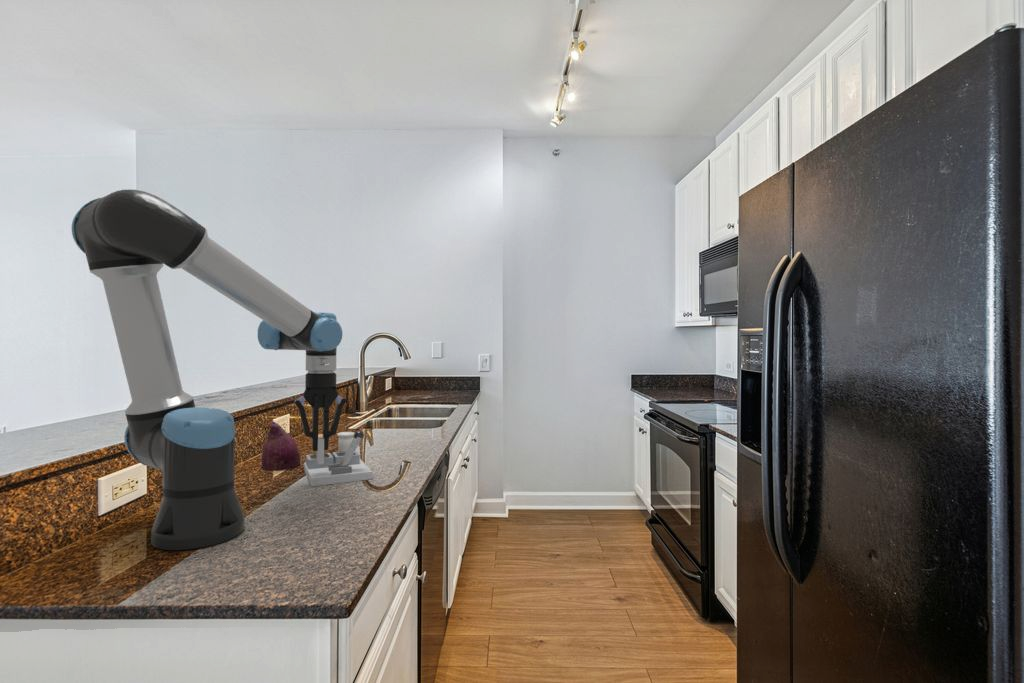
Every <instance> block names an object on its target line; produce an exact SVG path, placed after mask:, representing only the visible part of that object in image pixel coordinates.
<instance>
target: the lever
mask: <svg viewBox="0 0 1024 683" xmlns="http://www.w3.org/2000/svg"><path fill="white" fill-rule="evenodd" d="M364 438H365V433H364V432H363V431H362V430H357V431H355V432H354V436H353V440H352V442H351V444H350V446H349V448H348V450H347V451H346V453H345V455H344V457H343V459H342V461H341V463H340V465H339V467H347V465H348V463H349V461H350V459H351V458H352V456H353V454H354V452H355V451H357V448H358V446H359V444H360V443H361V441H362V440H363V439H364Z"/></svg>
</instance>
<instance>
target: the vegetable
mask: <svg viewBox="0 0 1024 683" xmlns="http://www.w3.org/2000/svg"><path fill="white" fill-rule="evenodd" d="M300 466H301V455H300V451H299V448H298V445H297V443H296V441H295V440H294V438H293V436H292V435H290V434H289V433H288V432H287V431H286V430H284V428H283V427H282V426H281V425H280V424H279V423H278V422H276V421H274V420H272V423H271V424H270V427H269V432H268V435H267V438H266V440H265V442H264V445H263V449H262V452H261V468H262V470H264V471H272V472H273V471H275V472H276V471H277V472H278V471H285V470H291V469H296V468H298V467H300Z"/></svg>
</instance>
